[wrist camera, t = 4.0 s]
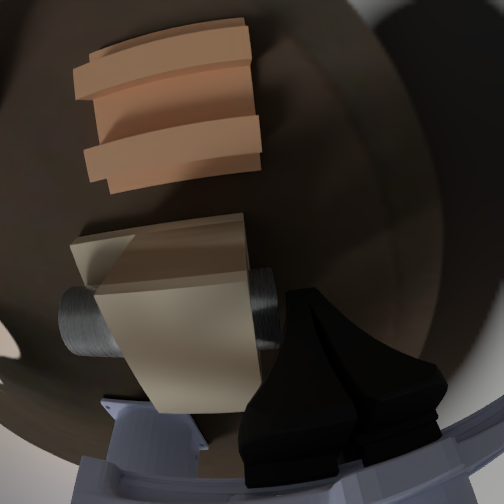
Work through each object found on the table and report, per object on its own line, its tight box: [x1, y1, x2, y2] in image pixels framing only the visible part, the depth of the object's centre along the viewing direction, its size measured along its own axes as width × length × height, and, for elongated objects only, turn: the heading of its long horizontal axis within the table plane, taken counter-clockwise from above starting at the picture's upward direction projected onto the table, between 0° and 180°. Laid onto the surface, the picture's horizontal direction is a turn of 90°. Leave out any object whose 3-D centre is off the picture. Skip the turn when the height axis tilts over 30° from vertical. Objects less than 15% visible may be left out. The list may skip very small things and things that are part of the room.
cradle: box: [73, 17, 262, 194], centre depth 10 cm, size 7×7×2 cm
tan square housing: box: [70, 213, 263, 414], centre depth 12 cm, size 7×9×6 cm
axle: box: [58, 267, 281, 357], centre depth 12 cm, size 10×4×4 cm, turn 96°
